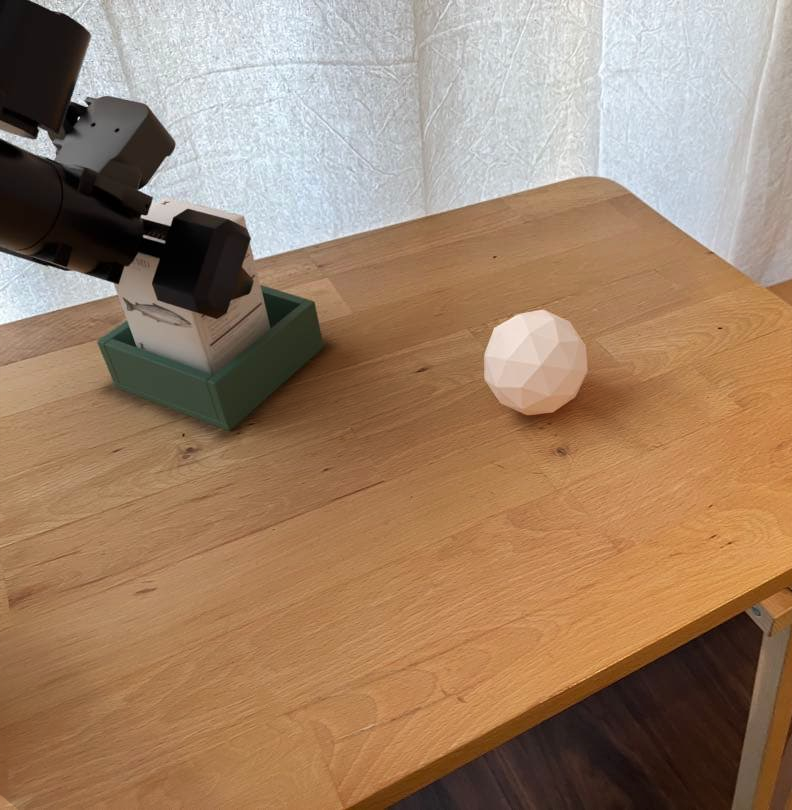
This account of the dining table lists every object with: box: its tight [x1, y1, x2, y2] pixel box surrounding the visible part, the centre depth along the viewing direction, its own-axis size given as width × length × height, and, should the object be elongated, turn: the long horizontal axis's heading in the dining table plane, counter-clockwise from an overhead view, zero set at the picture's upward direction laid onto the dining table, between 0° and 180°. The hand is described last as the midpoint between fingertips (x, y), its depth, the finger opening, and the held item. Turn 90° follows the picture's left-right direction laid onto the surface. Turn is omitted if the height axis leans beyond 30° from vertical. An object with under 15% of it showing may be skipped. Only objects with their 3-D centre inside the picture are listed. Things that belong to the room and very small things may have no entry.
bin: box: [96, 284, 325, 432], centre depth 70 cm, size 12×12×5 cm
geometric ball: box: [483, 309, 589, 416], centre depth 66 cm, size 8×8×8 cm
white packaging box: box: [113, 196, 270, 375], centre depth 67 cm, size 7×7×13 cm
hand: (201, 272), depth 66 cm, fingers open, 9 cm apart
